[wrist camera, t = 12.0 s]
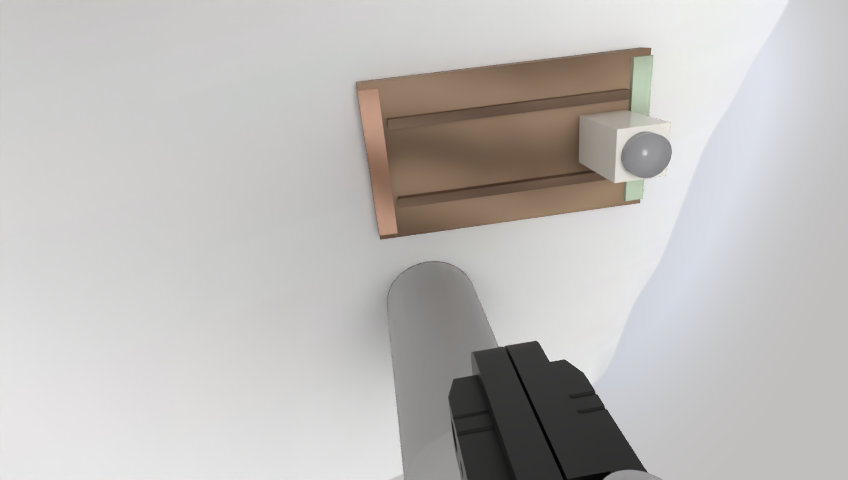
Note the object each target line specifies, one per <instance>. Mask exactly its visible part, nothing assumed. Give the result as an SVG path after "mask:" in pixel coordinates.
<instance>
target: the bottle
mask: <svg viewBox="0 0 848 480" xmlns="http://www.w3.org/2000/svg"><path fill="white" fill-rule="evenodd" d="M387 308H388V320H389V333H390V343H391V353H392V363H393V373H394V383H395V393H396V403H397V413H398V423H399V433H400V443H401V453H402V463H403V473H404V480H461V476H460V471H459V467H458V463H457V458H456V454H455V449H454V442H453V434H452V426H451V417H450V409H449V401H448V395H449V392H450V389H451V386H452V382H453V379H455V378H461V377H467V376H473V375H472V364H471V352H474V351H480V350H486V349H491V348H497V347H499V346H498V344H497V341H496V339H495V337H494V334H493V332H492V329H491V327H490V325H489V322H488V320H487V317H486V315H485V313H484V310H483V308H482V305H481V303H480V301H479V299H478V296H477V294H476V292H475V290H474V288H473V285H472V282H471V281H470V279H469V278H468V277H467V276H466V274H465V273H464V272H463V271H461V270H460V269H458V268H457V267H455V266H453V265H450V264H447V263H443V262H425V263H420V264H417V265H415V266H412V267H411V268H409V269H407V270H406V271H404V272H403V273H402V274H400V275H399V276H398V277H397V279H396V280H395V281H394V283H393V284H392V286H391V288H390V291H389V294H388V297H387Z"/></svg>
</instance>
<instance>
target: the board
mask: <svg viewBox="0 0 848 480" xmlns="http://www.w3.org/2000/svg"><path fill="white" fill-rule="evenodd" d="M652 65H653V55H651V48H633V49H625V50H617V51H608V52H600V53H592V54H583V55H575V56H567V57H558V58H550V59H542V60H534V61H525V62H517V63H509V64H500V65H492V66H484V67H476V68H467V69H459V70H451V71H442V72H434V73H426V74H418V75H409V76H401V77H393V78H384V79H376V80H368V81H359V82H357V83H356V84H357V92H358V98H359V105H360V111H361V118H362V124H363V131H364V137H365V144H366V150H367V157H368V163H369V170H370V176H371V183H372V189H373V196H374V202H375V209H376V215H377V222H378V228H379V235H380V240H381V239H388V238H395V237H402V236H409V235H416V234H423V233H430V232H437V231H444V230H452V229H459V228H466V227H473V226H480V225H487V224H494V223H501V222H508V221H515V220H522V219H529V218H537V217H544V216H551V215H558V214H565V213H572V212H579V211H586V210H593V209H600V208H607V207H615V206H622V205H629V204H636V203H640V199H643V186H644V179H641V180H634V181H627V182H619V183H613V182H612V181H610V180H608V179H607V178H605V177H603V176H601V175H600V174H598V173H596V172H595V171H593V170H591V169H589V168H588V167H586V166H584V165H583V164H581V163H579V118H580V115H588V114H596V113H604V112H612V111H619V110H628V111H632V112H635V113H639V114H643V115H646V116H649V106H650V92H651V79H652Z"/></svg>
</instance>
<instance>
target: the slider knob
mask: <svg viewBox="0 0 848 480" xmlns="http://www.w3.org/2000/svg"><path fill="white" fill-rule="evenodd" d="M670 127H671V122H668V121H664V120H660V119H657V118H653V117H650V116H646V115H643V114H639V113H635V112H632V111H628V110H619V111H612V112H604V113H596V114H588V115H580V118H579V163H581V164H583V165H584V166H586V167H588V168H589V169H591V170H593V171H595V172H596V173H598V174H600V175H601V176H603V177H605V178H607V179H608V180H610V181H612V182H613V183H619V182H627V181H634V180H641V179H648V178H656V177H663V176H666V170H667V165H668V163H669V161H670V159H671V154H672V150H671V145H670V143H669V137H670Z"/></svg>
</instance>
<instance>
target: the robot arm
mask: <svg viewBox="0 0 848 480" xmlns="http://www.w3.org/2000/svg"><path fill="white" fill-rule="evenodd" d="M471 364H472V375H473V376H467V377H461V378H455V379H453V382H452V386H451V389H450V392H449V395H448V401H449V409H450V417H451V426H452V434H453V442H454V449H455V454H456V458H457V463H458V467H459V471H460V476H461V480H662V479H661V478H659V477H657V476H655V475H652V474H649V473H648V472H647V471H646V469H645V468H644V467H643V465H642V463H641V462H640V460H639V459H638V457H637V456H636V454H635V453H634V451H633V449H632V448H631V446H630V445H629V443H628V442H627V440H626V439H625V437H624V435H623V434H622V432H621V431H620V429H619V428H618V426H617V424H616V423H615V421H614V420H613V418H612V417H611V415H610V414H609V412H608V410H606V409H605V407H604V404H603V403H602V401H601V400H600V398H599V396H598V395H596V394H595V390H594V389H593V387H592V385H591V384H590V382H589V381H588V379H587V378H586V376H585V375H584V373H583V372H581V371H580V370H579V369H577V368H576V367H574V366H573V365H572V364H570V363H569V362H568V361H566V360H559V361H553V362H549V360H548V358H547V356H546V355H545V353H544V351H543V349H542V348H541V346H540V344H539V343H538V342H537V341H532V342H526V343H520V344H514V345H508V346H505V347H497V348H491V349H486V350H480V351H474V352H471Z"/></svg>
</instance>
